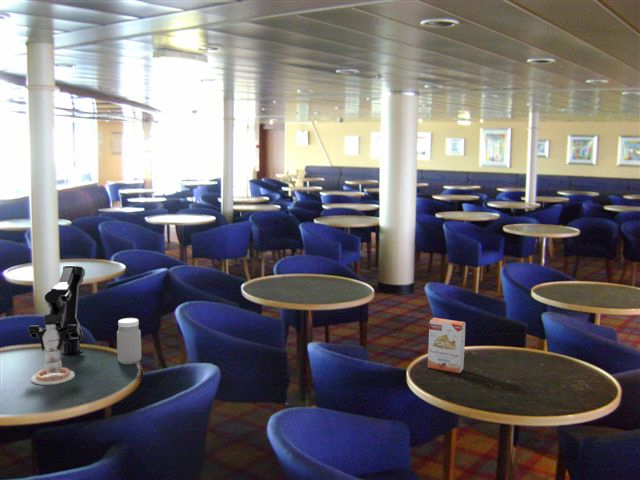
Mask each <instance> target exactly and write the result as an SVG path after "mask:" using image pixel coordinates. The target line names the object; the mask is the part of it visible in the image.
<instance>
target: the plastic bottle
mask: <svg viewBox="0 0 640 480" xmlns="http://www.w3.org/2000/svg"><path fill="white" fill-rule="evenodd" d="M45 324H46V323H45ZM45 328H46V331H45V333H44V334H43V337H42V338H43V343H44V364H43V369H45V371H46V372H47V373H57V372H59V371H60V370H61V368H62V367H63V364H62V360H61V356H60V355H61V353H60V351H59V350H58V349H59V343H60V333H58V331H57V330H56V329H55V328H56V323H47V324H46V326H45Z"/></svg>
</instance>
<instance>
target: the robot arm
mask: <svg viewBox="0 0 640 480" xmlns="http://www.w3.org/2000/svg"><path fill="white" fill-rule="evenodd" d="M85 275H86V269H85V268H83V266H78V265H75V264H65V265H63V266H62V272H61V275H60V278H59V281H58V283H57V284H55V285H54V286H53V287H52V288H51V290H50V291H47V293H46V294H45V295H44V300H45V303H46V305H47V308H49V313H48V314H45V315H44V320H43V322H44V324H45V328H43V327H41V326H40V325H39V324H38V325H36V324H35V325H29V327H28V329H27V332H28V334H29V337H30V338H32V339H36V338H37V339H38V340H39V341H40V346H41V350H42V352H45V349H44V343H43V338H42V337H43V334H44V333H45V331H46V324H47V323H56V328H55V329H56V330H57V331H58V333H59V334H60V343H59V349H58V350H59V352H60V351H61V350H62V349H63V351H62V352H61V355H62V354H63V355H67V356H75V355H78V354H81V353H83V352H84V350H82V349H81V341H82V340H84V333H83V330H82V328H81V324H80V321H78V318H77V317H78V302H79V290H80V289H79V288H80V285H81V284H82V283H83V282H84V277H85ZM65 303H66V304H65Z"/></svg>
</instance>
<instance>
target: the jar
mask: <svg viewBox="0 0 640 480" xmlns="http://www.w3.org/2000/svg"><path fill="white" fill-rule="evenodd" d="M139 322H140V321H139V319H138V318H135V317H127V318H126V317H125V318H121V319H119V320H118V322H117V325H118V328H117V331H116V346H117V347H116V348H117V351H116V352H117V361H118V362H119V363H120V364H121V365H122V364H123V365H134V364H137V363H139V362H140V361H141V360H142V334H141V333H142V332H141V331H142V330H141V329H139V327H140V326H139V325H140V323H139Z"/></svg>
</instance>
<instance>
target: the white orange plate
mask: <svg viewBox="0 0 640 480" xmlns="http://www.w3.org/2000/svg"><path fill="white" fill-rule="evenodd" d="M75 376H76V374H75V372H74V371H73V370H70V369H69V368H68V367H63V366H62V368H61V370H60V371H59V372H57V373H47V372H46V371H45V369H44V368H43V369H41V370H39V371H37V372H36V373H35V374H33V375H32V376H31V378H30V379H31V383H33V384H35V385H39V386H54V385H59V384H63V383H66V382H69V381H71V380H73V379H74V378H75Z"/></svg>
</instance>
